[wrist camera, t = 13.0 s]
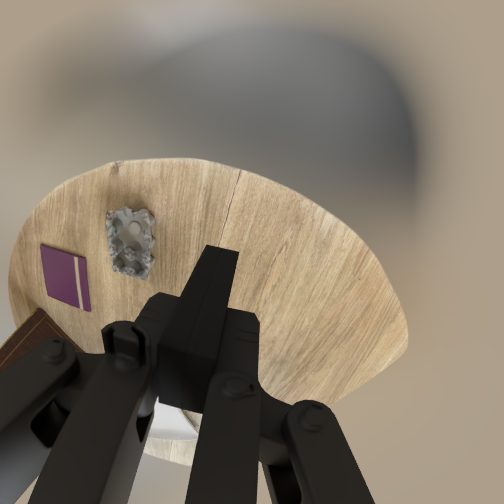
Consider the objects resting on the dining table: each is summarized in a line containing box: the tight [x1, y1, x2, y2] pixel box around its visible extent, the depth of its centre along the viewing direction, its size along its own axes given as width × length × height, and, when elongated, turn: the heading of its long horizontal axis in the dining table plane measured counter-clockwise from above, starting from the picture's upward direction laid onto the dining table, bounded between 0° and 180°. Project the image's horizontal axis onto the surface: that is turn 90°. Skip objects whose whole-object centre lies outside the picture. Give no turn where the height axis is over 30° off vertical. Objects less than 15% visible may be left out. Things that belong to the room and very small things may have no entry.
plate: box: [148, 398, 199, 441], centre depth 58 cm, size 21×21×3 cm
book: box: [0, 308, 85, 374], centre depth 41 cm, size 22×8×25 cm, turn 39°
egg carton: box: [106, 206, 156, 280], centre depth 39 cm, size 11×8×4 cm
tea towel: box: [40, 244, 91, 312], centre depth 45 cm, size 12×12×1 cm
